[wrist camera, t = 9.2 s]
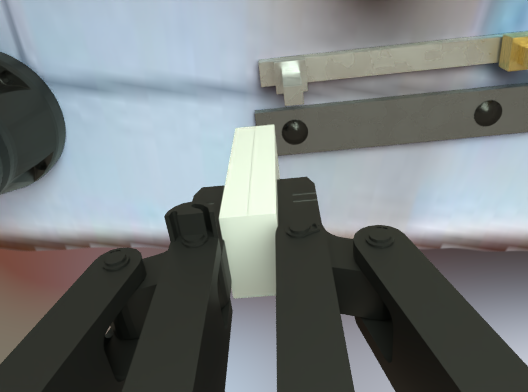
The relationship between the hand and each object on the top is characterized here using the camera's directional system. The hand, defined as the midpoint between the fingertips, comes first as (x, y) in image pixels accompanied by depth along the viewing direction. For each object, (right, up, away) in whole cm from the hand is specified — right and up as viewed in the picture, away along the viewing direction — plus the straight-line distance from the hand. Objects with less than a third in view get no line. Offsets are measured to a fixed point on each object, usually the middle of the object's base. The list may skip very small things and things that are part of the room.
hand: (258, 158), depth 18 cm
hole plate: (+14, +7, +31) cm, 35 cm away
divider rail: (+14, +12, +28) cm, 33 cm away
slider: (+24, +13, +26) cm, 37 cm away
